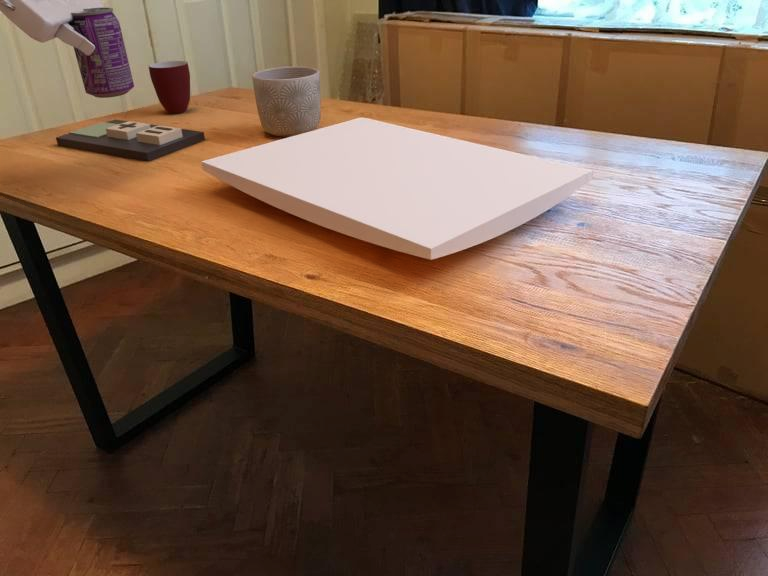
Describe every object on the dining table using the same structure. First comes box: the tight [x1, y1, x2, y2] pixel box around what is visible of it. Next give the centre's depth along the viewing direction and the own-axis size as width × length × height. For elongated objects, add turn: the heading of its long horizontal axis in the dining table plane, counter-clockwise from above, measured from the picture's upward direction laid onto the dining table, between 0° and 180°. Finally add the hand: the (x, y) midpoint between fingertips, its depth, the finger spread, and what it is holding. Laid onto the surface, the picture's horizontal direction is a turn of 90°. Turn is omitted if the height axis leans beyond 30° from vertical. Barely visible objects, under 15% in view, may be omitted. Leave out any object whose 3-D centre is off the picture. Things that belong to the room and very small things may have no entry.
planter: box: [251, 66, 322, 138], centre depth 124 cm, size 12×12×11 cm
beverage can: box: [68, 7, 135, 99], centre depth 99 cm, size 7×7×12 cm
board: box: [200, 116, 594, 261], centre depth 93 cm, size 45×32×5 cm
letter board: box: [55, 119, 206, 162], centre depth 123 cm, size 24×14×3 cm, turn 61°
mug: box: [148, 60, 191, 115], centre depth 142 cm, size 11×8×10 cm
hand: (104, 46), depth 98 cm, fingers closed on beverage can, 6 cm apart
